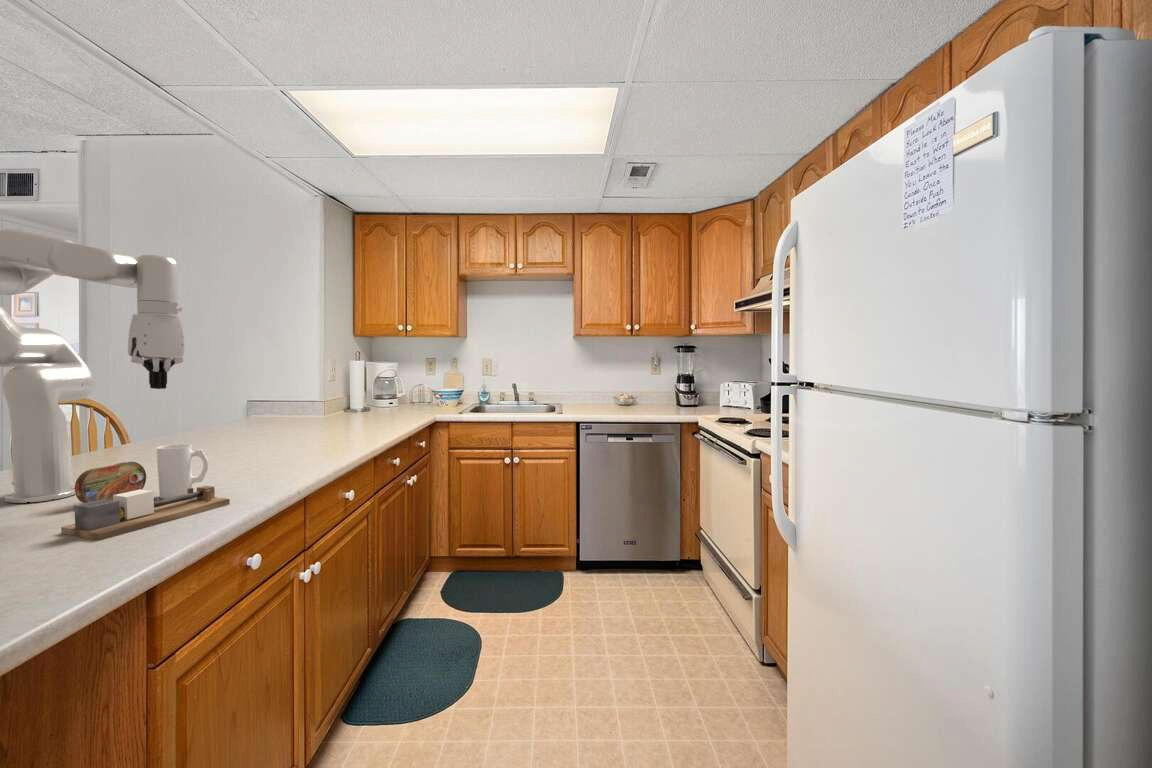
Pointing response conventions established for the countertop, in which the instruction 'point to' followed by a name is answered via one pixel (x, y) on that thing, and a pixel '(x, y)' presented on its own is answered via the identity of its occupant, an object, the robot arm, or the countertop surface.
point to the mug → (177, 469)
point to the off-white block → (136, 503)
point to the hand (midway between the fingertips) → (158, 388)
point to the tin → (109, 481)
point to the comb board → (110, 520)
